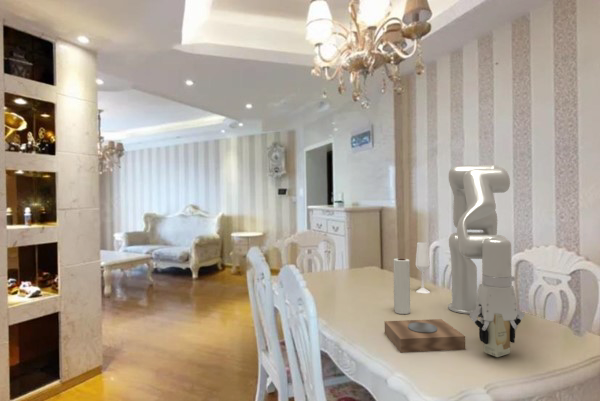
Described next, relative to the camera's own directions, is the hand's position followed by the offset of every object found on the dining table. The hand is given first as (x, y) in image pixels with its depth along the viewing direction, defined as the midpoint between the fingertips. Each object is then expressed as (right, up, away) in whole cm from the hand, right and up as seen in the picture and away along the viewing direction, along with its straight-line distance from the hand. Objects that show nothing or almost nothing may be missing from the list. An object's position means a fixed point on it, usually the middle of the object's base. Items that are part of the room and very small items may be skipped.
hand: (497, 341), depth 107 cm
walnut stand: (-18, -4, +11) cm, 22 cm away
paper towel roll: (-16, -4, +42) cm, 45 cm away
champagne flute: (+3, -4, +73) cm, 73 cm away
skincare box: (0, -4, 0) cm, 4 cm away
